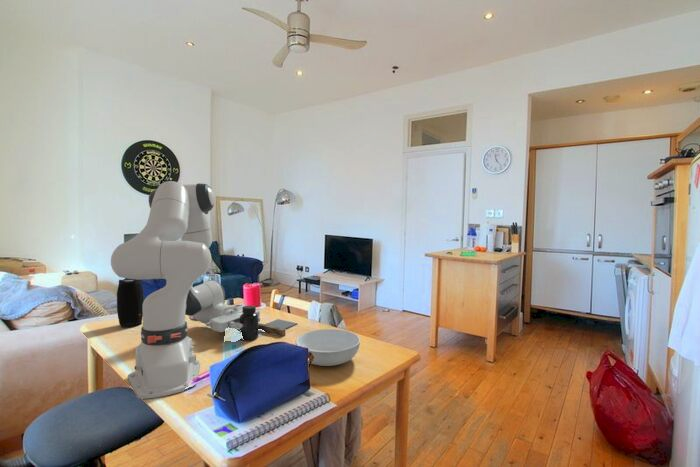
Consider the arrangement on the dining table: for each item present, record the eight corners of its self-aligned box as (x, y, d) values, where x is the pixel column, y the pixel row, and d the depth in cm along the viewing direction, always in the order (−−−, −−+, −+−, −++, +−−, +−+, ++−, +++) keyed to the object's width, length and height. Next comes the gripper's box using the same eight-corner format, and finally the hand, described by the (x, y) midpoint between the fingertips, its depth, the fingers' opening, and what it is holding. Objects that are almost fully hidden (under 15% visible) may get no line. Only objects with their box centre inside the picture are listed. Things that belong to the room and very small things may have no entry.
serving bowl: (320, 343, 126) (320, 324, 125) (370, 355, 115) (371, 335, 115) (281, 363, 108) (281, 342, 108) (337, 381, 97) (337, 357, 97)
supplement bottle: (260, 339, 129) (260, 307, 128) (242, 342, 125) (242, 310, 125) (254, 333, 135) (254, 303, 134) (237, 337, 131) (237, 306, 130)
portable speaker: (147, 324, 144) (146, 278, 143) (122, 330, 137) (121, 281, 136) (138, 320, 149) (137, 276, 148) (113, 325, 142) (112, 279, 141)
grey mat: (297, 324, 147) (297, 323, 147) (280, 331, 137) (280, 330, 137) (278, 320, 152) (278, 319, 152) (260, 327, 143) (260, 325, 143)
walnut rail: (285, 335, 133) (285, 329, 133) (282, 336, 132) (282, 330, 132) (248, 326, 143) (248, 320, 143) (245, 327, 142) (245, 321, 141)
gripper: (202, 315, 127) (228, 321, 120) (244, 303, 145) (269, 308, 138) (203, 332, 127) (228, 339, 120) (244, 318, 145) (269, 323, 138)
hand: (250, 322), depth 129 cm, fingers open, 7 cm apart
